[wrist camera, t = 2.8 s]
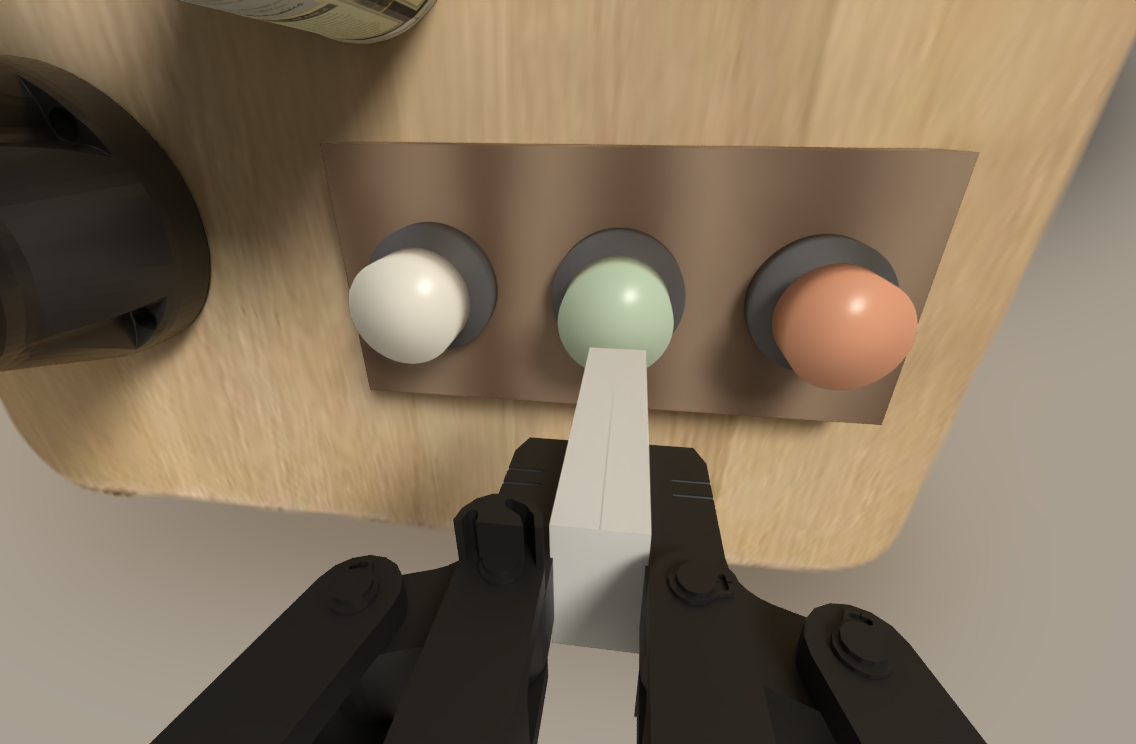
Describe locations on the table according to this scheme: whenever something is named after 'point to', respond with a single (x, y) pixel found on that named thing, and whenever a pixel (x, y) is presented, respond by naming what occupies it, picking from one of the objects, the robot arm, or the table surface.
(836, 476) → the table surface
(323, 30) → the coffee can
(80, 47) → the table surface
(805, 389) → the button panel
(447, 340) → the button cream
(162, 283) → the robot arm
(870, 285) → the button terracotta
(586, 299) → the button green
